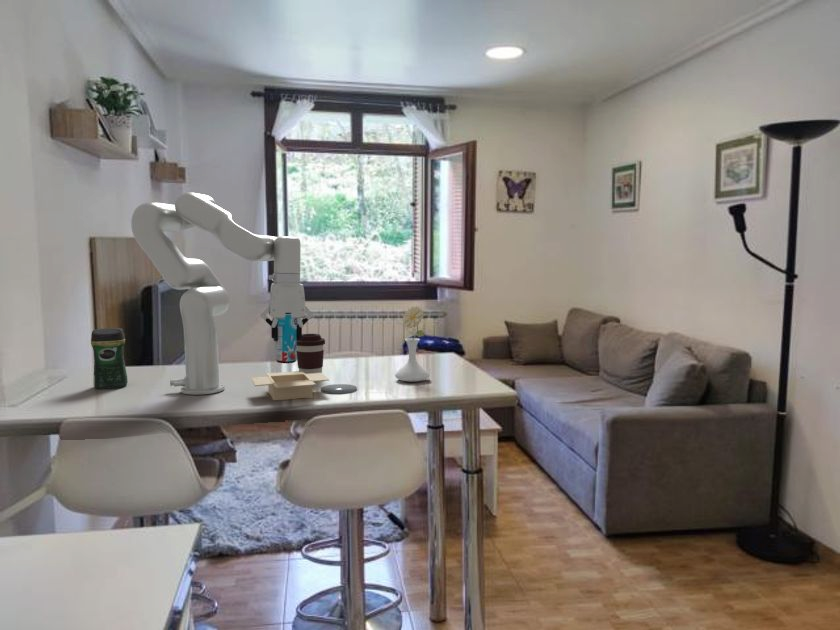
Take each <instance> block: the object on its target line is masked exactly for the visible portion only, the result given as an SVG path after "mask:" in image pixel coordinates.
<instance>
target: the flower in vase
mask: <svg viewBox="0 0 840 630" xmlns="http://www.w3.org/2000/svg"><path fill="white" fill-rule="evenodd" d="M423 319H424V310H423V309H422V307H419V306H418V305H415V306H411V307H410V308H408V309H407V310H406V311H404V314H403V317H402V322H403V323H402V326H404V327H405V328H406V329H405V330H406V331H407V332H408V333H409V334H411V335H412V336H413V337H409V338H405V339H404V341H405V342H406V344H407V348H408V360H407V362H406V363H405V364H404V365H403V366H402V367H400V368H399V369H398V371H396V373H395V374H394V377H395V378H396V379H397V380H400V381H402V382H411V383H412V382H413V383H414V382H422V381H425V380H427V379H429V378H430V373H429V372H428V370H427V369H425V368H424V367H423V366H422V365H421V364H419V362H418V361H417V358H416V355H417V347H418V343H419V342H420V340H421V339H420V338H421V337H425V333H424V330H423V329H419V325H420V323H421V322H422V320H423ZM413 327H414V328H416V332H415V333H414V332H413V331H411V330H410V329H413ZM416 336H417V337H418V338H417V337H416Z"/></svg>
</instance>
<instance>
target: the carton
mask: <svg viewBox="0 0 840 630" xmlns="http://www.w3.org/2000/svg"><path fill="white" fill-rule="evenodd" d="M265 375H266V376H257V377H251V378H250V379H251V381H252V383H253V385H254V387H261V386H268V391H267V392H268V393H269V395H270V397H271V399H272V400H273V401H283V400H294V399H306V398H307V399H308V398H313V395H314V394H313V392H314V389H313V386H317V384H316V383H315V382H317V383H318V382H328V381H330V379H329V378H328V377H327V376H326V375H325V374H324V373H323V372H322V373H310V374H305V373H304V372H303V371H299V370H298V371H297V370H296V371H287V372H286V371H283V372H282V371H281V372H268V373H265Z"/></svg>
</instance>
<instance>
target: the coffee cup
mask: <svg viewBox="0 0 840 630" xmlns="http://www.w3.org/2000/svg"><path fill="white" fill-rule="evenodd" d="M325 344H326V339H325V338H322V335H321V334H319V333H302V338H300V341H298V340H297V360H296V362H297V368H298V371H303V372H304V373H305V374H310V373H322V374H323V367H324V345H325Z"/></svg>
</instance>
